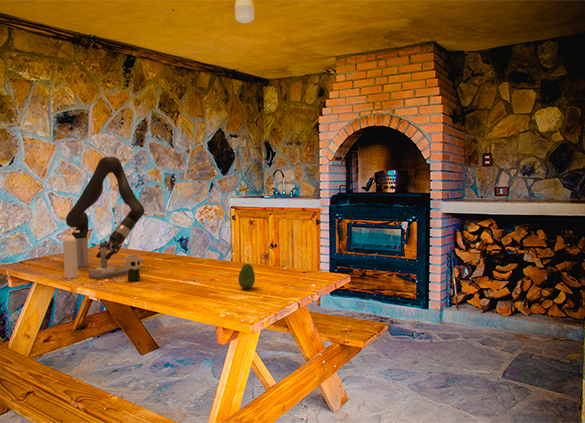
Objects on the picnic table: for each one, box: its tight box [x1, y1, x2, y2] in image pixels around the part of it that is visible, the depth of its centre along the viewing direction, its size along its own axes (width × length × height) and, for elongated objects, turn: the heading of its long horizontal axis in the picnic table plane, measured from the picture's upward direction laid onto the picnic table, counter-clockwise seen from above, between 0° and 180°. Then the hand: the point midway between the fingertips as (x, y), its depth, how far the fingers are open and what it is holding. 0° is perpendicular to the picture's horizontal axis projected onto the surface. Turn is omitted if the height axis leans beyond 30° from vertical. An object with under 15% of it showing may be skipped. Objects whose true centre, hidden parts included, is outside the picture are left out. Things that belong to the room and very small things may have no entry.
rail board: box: [87, 267, 140, 281], centre depth 236 cm, size 9×25×5 cm, turn 145°
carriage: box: [94, 241, 115, 274], centre depth 230 cm, size 6×7×16 cm
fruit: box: [238, 263, 256, 290], centre depth 202 cm, size 8×8×12 cm
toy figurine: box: [122, 254, 144, 282], centre depth 221 cm, size 11×7×13 cm, turn 138°
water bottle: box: [62, 230, 80, 280], centre depth 230 cm, size 9×6×25 cm
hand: (101, 258), depth 229 cm, fingers open, 8 cm apart
